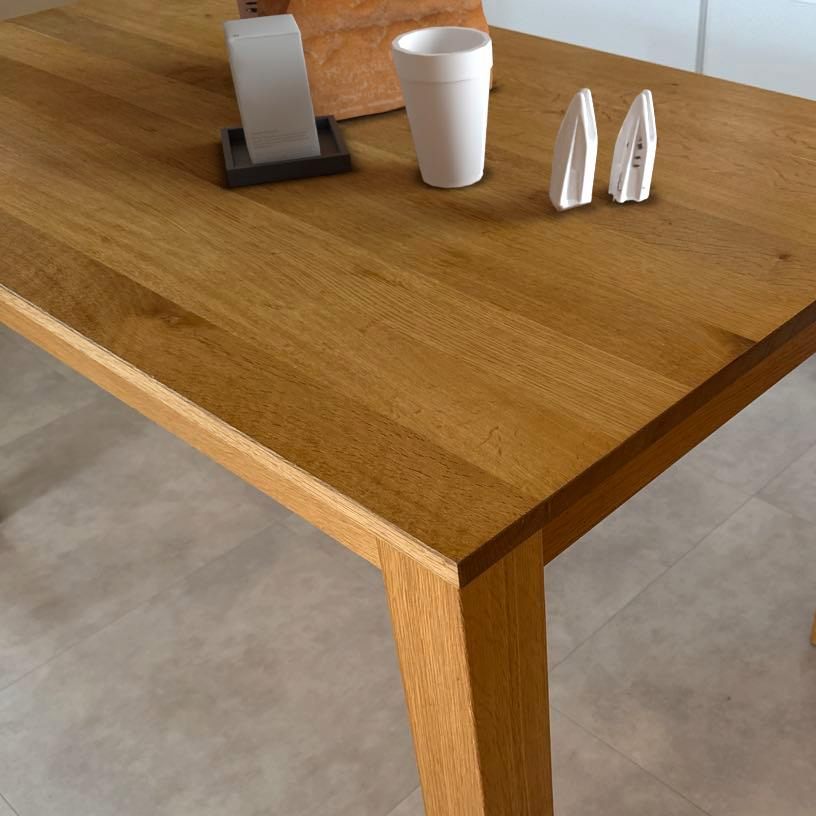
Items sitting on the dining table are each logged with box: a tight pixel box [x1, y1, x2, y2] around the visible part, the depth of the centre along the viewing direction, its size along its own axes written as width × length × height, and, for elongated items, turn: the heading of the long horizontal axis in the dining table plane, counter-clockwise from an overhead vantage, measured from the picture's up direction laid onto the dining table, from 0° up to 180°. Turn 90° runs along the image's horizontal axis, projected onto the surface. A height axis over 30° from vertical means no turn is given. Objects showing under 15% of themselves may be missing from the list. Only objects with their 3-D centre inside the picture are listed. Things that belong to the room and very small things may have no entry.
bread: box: [257, 0, 494, 122], centre depth 118 cm, size 14×27×15 cm, turn 119°
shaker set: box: [548, 87, 657, 212], centre depth 94 cm, size 12×4×11 cm, turn 119°
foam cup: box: [392, 26, 494, 189], centre depth 100 cm, size 10×9×13 cm
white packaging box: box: [221, 14, 321, 164], centre depth 104 cm, size 7×7×13 cm
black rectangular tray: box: [219, 115, 353, 188], centre depth 108 cm, size 13×13×2 cm
